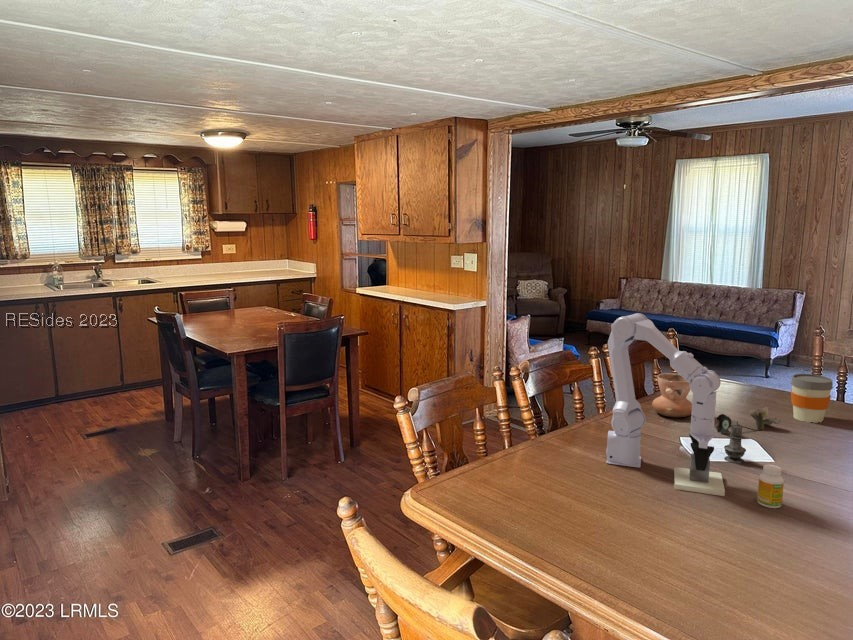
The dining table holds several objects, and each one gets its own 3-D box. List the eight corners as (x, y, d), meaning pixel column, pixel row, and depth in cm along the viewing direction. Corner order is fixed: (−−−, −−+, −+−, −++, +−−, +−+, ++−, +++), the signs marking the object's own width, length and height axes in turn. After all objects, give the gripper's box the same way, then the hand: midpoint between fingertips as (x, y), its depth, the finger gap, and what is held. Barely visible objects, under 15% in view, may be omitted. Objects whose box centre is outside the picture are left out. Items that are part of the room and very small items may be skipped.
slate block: (690, 480, 162) (691, 459, 161) (689, 473, 166) (690, 453, 165) (708, 482, 161) (710, 461, 160) (707, 476, 165) (708, 455, 164)
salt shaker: (747, 464, 176) (751, 425, 174) (726, 463, 177) (729, 424, 175) (741, 456, 181) (744, 418, 179) (720, 455, 182) (723, 417, 181)
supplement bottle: (772, 510, 148) (776, 473, 146) (752, 501, 153) (755, 465, 151) (786, 505, 150) (789, 469, 149) (765, 497, 155) (768, 461, 153)
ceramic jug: (687, 424, 210) (690, 385, 208) (645, 416, 219) (648, 378, 216) (699, 412, 224) (702, 375, 222) (659, 404, 233) (662, 369, 231)
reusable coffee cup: (789, 411, 224) (793, 371, 221) (829, 417, 216) (834, 376, 214) (785, 420, 214) (789, 379, 211) (828, 427, 206) (832, 384, 204)
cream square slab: (674, 491, 160) (675, 484, 160) (673, 473, 171) (674, 467, 171) (724, 498, 156) (724, 491, 156) (720, 479, 167) (721, 473, 167)
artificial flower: (709, 432, 206) (709, 403, 207) (767, 435, 210) (767, 406, 211) (727, 434, 197) (727, 403, 198) (787, 437, 201) (786, 407, 203)
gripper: (722, 426, 152) (718, 477, 155) (716, 409, 166) (713, 456, 168) (691, 423, 155) (688, 473, 157) (689, 407, 168) (686, 453, 170)
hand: (699, 464), depth 163 cm, fingers open, 7 cm apart
